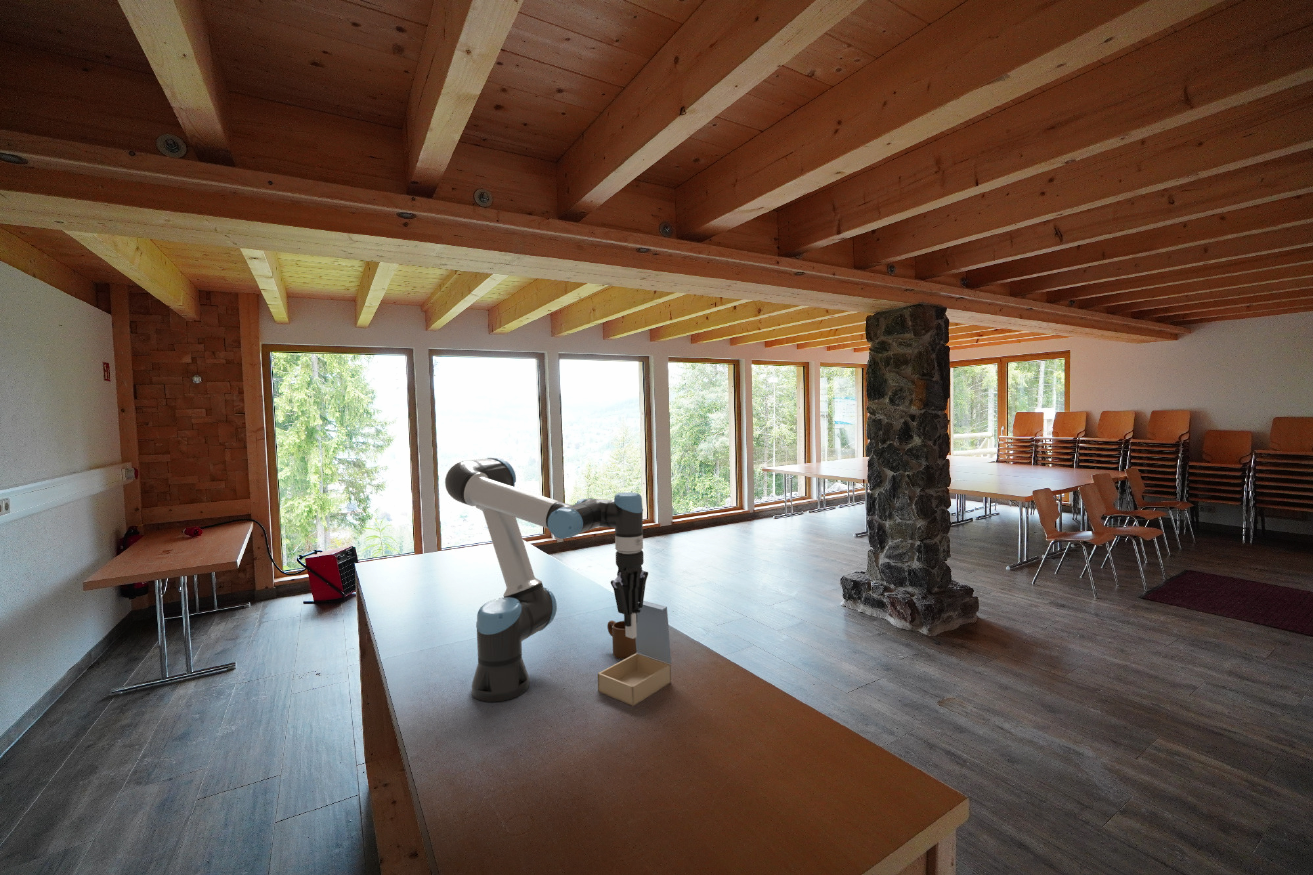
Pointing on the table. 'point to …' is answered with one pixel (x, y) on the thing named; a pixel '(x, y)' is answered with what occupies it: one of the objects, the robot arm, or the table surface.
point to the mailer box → (634, 679)
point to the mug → (621, 640)
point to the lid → (653, 632)
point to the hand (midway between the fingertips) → (631, 636)
